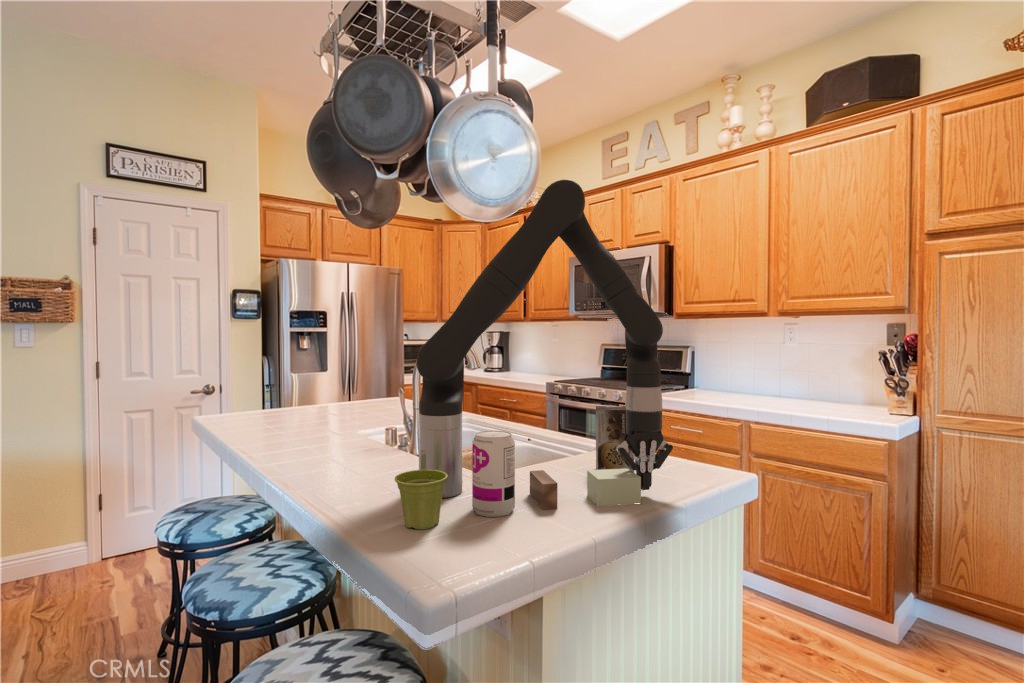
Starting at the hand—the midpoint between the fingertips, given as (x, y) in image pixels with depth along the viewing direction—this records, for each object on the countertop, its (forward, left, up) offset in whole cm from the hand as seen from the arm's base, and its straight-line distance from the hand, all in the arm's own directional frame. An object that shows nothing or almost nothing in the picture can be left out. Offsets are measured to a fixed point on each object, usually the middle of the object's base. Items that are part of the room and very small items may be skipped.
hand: (644, 488), depth 109 cm
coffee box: (+2, +20, -2) cm, 20 cm away
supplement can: (-33, -2, -2) cm, 33 cm away
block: (-7, -1, -2) cm, 8 cm away
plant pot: (-47, -6, -2) cm, 47 cm away
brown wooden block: (-22, +1, -2) cm, 22 cm away
